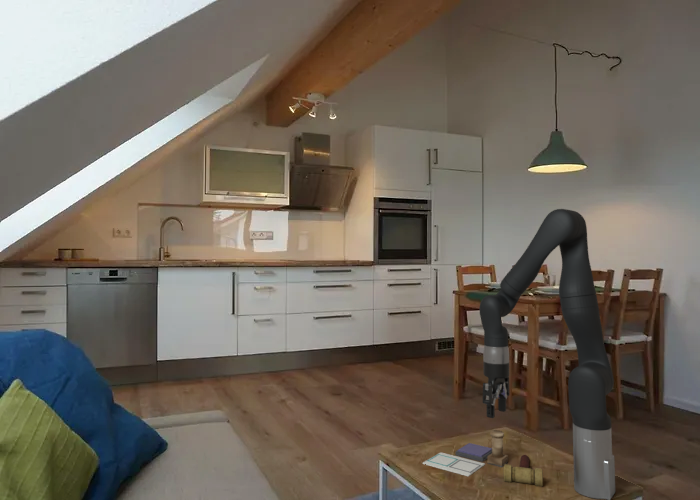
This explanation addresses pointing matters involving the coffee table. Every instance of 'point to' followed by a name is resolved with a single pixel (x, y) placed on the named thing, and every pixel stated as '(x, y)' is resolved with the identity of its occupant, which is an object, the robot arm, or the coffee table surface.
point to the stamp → (497, 450)
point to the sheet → (454, 464)
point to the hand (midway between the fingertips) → (496, 414)
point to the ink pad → (474, 452)
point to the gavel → (523, 473)
